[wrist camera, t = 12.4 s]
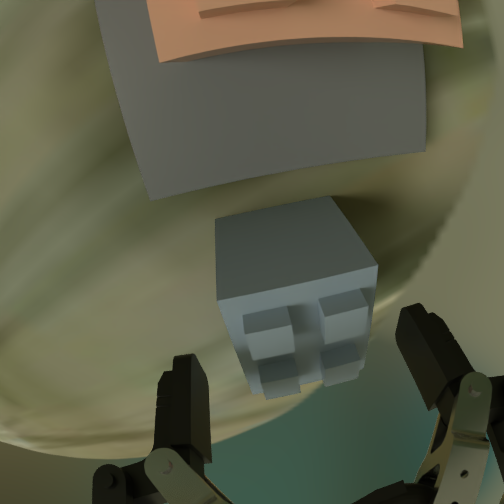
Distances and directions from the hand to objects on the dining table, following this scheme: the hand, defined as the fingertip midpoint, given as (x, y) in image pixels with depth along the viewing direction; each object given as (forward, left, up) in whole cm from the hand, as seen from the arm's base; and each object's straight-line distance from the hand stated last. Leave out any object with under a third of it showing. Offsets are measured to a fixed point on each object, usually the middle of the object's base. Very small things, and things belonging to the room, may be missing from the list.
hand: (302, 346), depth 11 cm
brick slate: (0, 0, -5) cm, 5 cm away
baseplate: (-13, -7, -5) cm, 15 cm away
